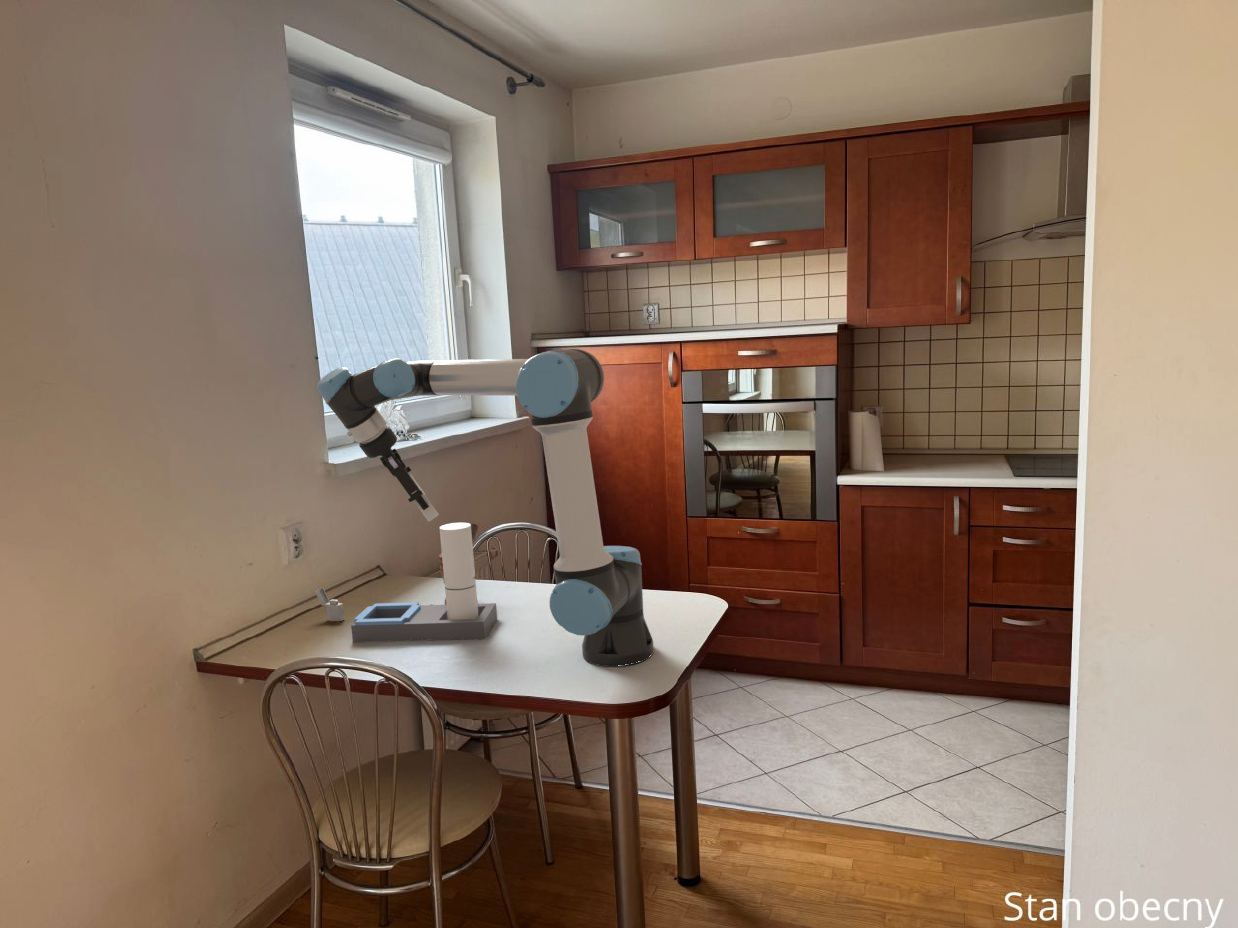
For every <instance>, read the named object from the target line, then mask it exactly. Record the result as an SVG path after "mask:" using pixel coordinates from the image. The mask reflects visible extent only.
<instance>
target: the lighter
mask: <svg viewBox="0 0 1238 928" xmlns="http://www.w3.org/2000/svg"><path fill="white" fill-rule="evenodd" d="M314 592H315V594H316V597H317V598H318V601H319V603H320V605H321V606H325V608H326V609H325V610H326V617H327V621H328V620H335V621H342V620H344V621H345V614H344V604H343V603H342V602H339V600H338V599H335V598H332V599H329V597H328V594H327V592H326V591H325V588H324V587H321V588H318V589H317V590H315V591H314ZM342 622H343V621H342Z"/></svg>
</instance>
